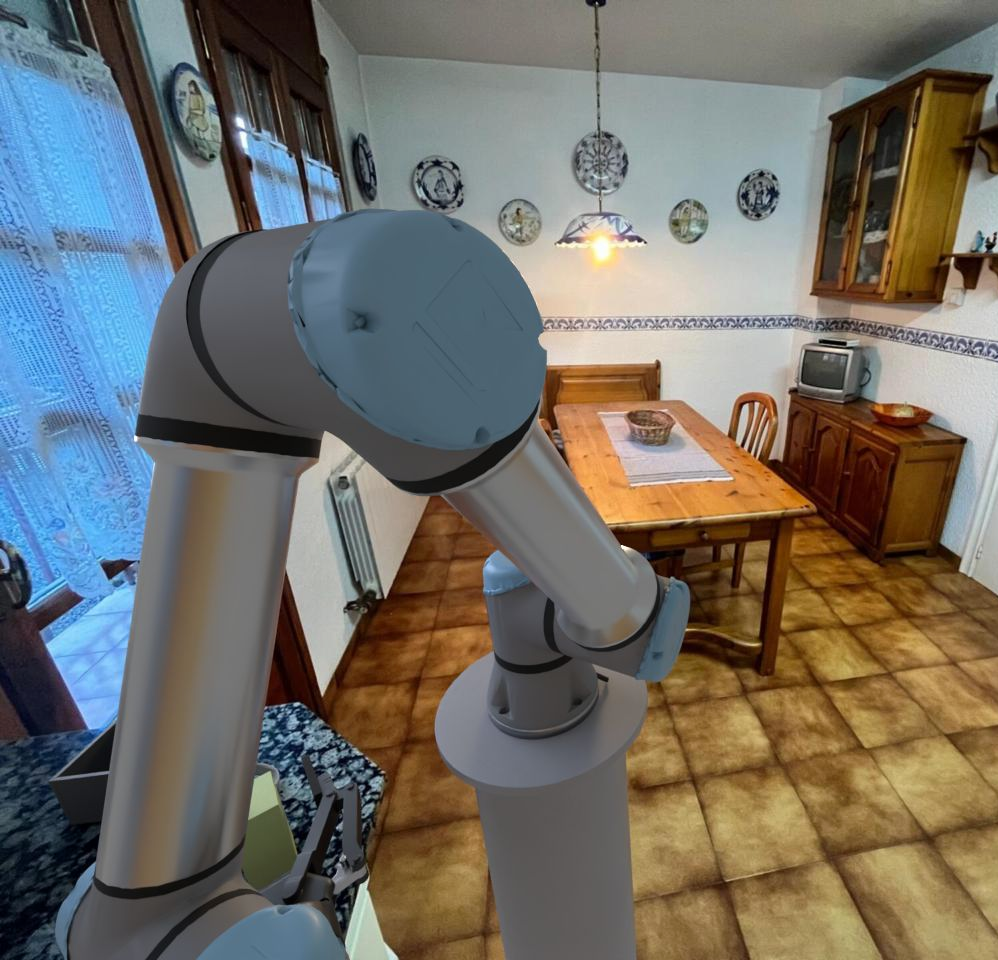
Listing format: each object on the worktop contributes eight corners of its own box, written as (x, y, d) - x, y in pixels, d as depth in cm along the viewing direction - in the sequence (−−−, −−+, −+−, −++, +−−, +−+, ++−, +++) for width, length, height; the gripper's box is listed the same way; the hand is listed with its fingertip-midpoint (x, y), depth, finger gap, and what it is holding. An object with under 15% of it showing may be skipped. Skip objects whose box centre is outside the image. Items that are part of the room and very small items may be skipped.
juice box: (292, 833, 56) (257, 731, 52) (301, 869, 53) (264, 763, 48) (247, 859, 54) (206, 754, 49) (254, 898, 50) (210, 789, 46)
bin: (222, 743, 69) (208, 703, 67) (168, 812, 59) (148, 769, 57) (139, 753, 67) (122, 713, 65) (70, 825, 58) (47, 781, 56)
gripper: (103, 1174, 33) (122, 894, 49) (444, 911, 46) (371, 760, 62) (56, 1108, 30) (92, 836, 46) (431, 851, 44) (358, 710, 60)
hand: (252, 792), depth 54 cm, fingers open, 9 cm apart
